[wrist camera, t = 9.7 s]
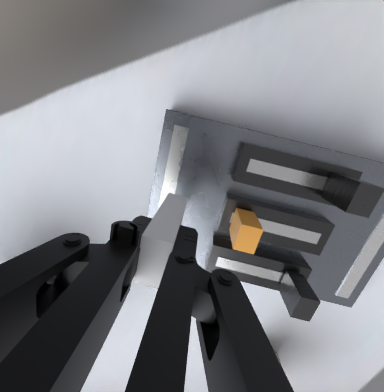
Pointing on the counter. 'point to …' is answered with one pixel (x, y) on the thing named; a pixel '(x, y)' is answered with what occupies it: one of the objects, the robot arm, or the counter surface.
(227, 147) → the panel
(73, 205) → the counter surface
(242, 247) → the breaker handle
